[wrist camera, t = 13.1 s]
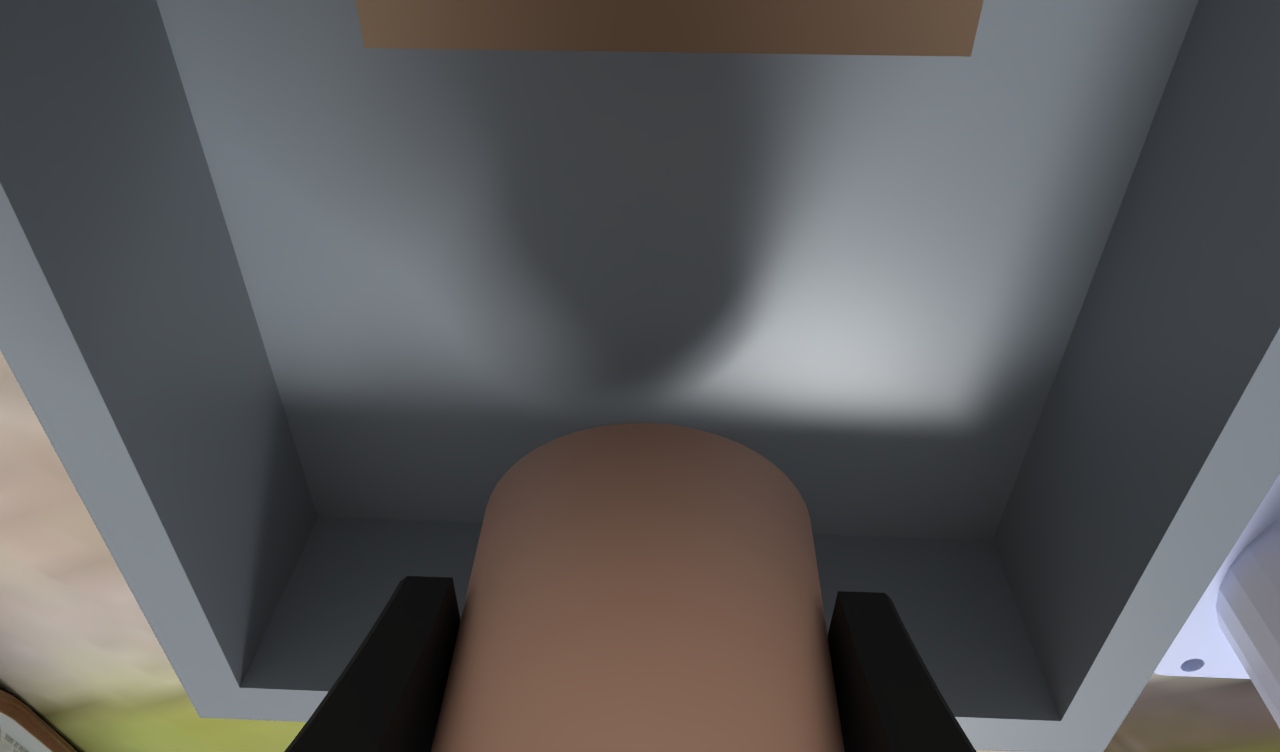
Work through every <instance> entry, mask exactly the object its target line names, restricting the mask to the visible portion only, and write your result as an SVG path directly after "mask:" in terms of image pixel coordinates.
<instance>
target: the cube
mask: <svg viewBox="0 0 1280 752" xmlns="http://www.w3.org/2000/svg"><path fill="white" fill-rule="evenodd" d="M983 1H984V0H356V6H357V11H358V16H359V22H360V27H361V33H362V38H363V43H364V48H395V49H466V50H536V51H607V52H677V53H748V54H818V55H889V56H960V57H971V54H972V49H973V45H974V40H975V36H976V32H977V27H978V23H979V19H980V14H981V10H982V6H983Z"/></svg>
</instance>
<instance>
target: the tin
mask: <svg viewBox="0 0 1280 752" xmlns="http://www.w3.org/2000/svg"><path fill="white" fill-rule="evenodd" d="M0 752H77V751H76V750H75V749H74V748H73V747H72V746H71V745H70V744H68V743H67V742H66V741H65V740H64V739H63V738H62V737H61V736H60V735H59V734H58V733H56V732H55V731H54V730H53V729H52V728H51V727H50V726H49V725H48V724H47V723H46V722H44V721H43V720H42V719H41V718H40V717H39V716H38V715H37V714H36V713H35V712H33V711H32V710H31V709H30V708H29V707H28V706H27V705H25V704H24V703H23V702H21V701H20V700H19V699H17V698H16V697H14V696H12V695H11V694H9V693H7V692H5V691H3V690H1V689H0Z"/></svg>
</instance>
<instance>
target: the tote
mask: <svg viewBox="0 0 1280 752" xmlns="http://www.w3.org/2000/svg"><path fill="white" fill-rule="evenodd" d="M0 350H1V352H2V353H3V355H4V357H5V359H6V361H7V363H8V365H9V366H10V368H11V370H12V372H13V374H14V376H15V377H16V379H17V381H18V383H19V385H20V387H21V389H22V390H23V392H24V394H25V396H26V398H27V400H28V401H29V403H30V405H31V407H32V409H33V411H34V413H35V414H36V416H37V418H38V420H39V422H40V424H41V425H42V427H43V429H44V431H45V433H46V435H47V436H48V438H49V440H50V442H51V444H52V446H53V448H54V449H55V451H56V453H57V455H58V457H59V459H60V460H61V462H62V464H63V466H64V468H65V470H66V472H67V473H68V475H69V477H70V479H71V481H72V483H73V484H74V486H75V488H76V490H77V492H78V494H79V496H80V497H81V499H82V501H83V503H84V505H85V507H86V508H87V510H88V512H89V514H90V516H91V518H92V520H93V521H94V523H95V525H96V527H97V529H98V531H99V532H100V534H101V536H102V538H103V540H104V542H105V543H106V545H107V547H108V549H109V551H110V553H111V555H112V556H113V558H114V560H115V562H116V564H117V566H118V567H119V569H120V571H121V573H122V575H123V577H124V579H125V580H126V582H127V584H128V586H129V588H130V590H131V591H132V593H133V595H134V597H135V599H136V601H137V603H138V604H139V606H140V608H141V610H142V612H143V614H144V615H145V617H146V619H147V621H148V623H149V625H150V627H151V628H152V630H153V632H154V634H155V636H156V638H157V639H158V641H159V643H160V645H161V647H162V649H163V651H164V652H165V654H166V656H167V658H168V660H169V662H170V663H171V665H172V667H173V669H174V671H175V673H176V674H177V676H178V678H179V680H180V682H181V684H182V686H183V687H184V689H185V691H186V693H187V695H188V697H189V698H190V700H191V702H192V704H193V706H194V708H195V710H196V711H197V713H198V715H199V717H201V718H225V719H249V720H273V721H297V722H307V721H308V720H309V718H310V717H311V716H312V714H313V713H314V711H315V710H316V709H317V707H318V706H319V704H320V703H321V702H322V700H323V699H324V697H325V696H326V695H327V693H328V692H329V690H330V689H331V688H332V686H333V685H334V683H335V682H336V681H337V679H338V678H339V676H340V675H341V673H342V672H343V671H344V669H345V668H346V666H347V665H348V663H349V662H350V660H351V659H352V657H353V656H354V654H355V653H356V651H357V650H358V648H359V647H360V645H361V644H362V642H363V641H364V639H365V638H366V636H367V634H368V633H369V631H370V630H371V628H372V627H373V625H374V623H375V622H376V620H377V619H378V617H379V616H380V614H381V612H382V611H383V609H384V607H385V606H386V604H387V603H388V601H389V599H390V598H391V596H392V594H393V593H394V591H395V589H396V587H397V586H398V584H399V582H400V581H401V580H403V579H404V578H405V577H407V576H424V577H453V582H454V587H455V593H456V598H457V603H458V609H459V614H460V619H461V616H462V612H463V607H464V603H465V599H466V594H467V590H468V585H469V581H470V577H471V572H472V568H473V563H474V559H475V555H476V550H477V546H478V541H479V537H480V533H481V528H482V524H483V519H484V515H485V510H486V507H487V504H488V501H489V498H490V495H491V494H492V492H493V490H494V488H495V487H496V485H497V483H498V482H499V480H500V479H501V478H502V477H503V476H504V474H505V473H506V472H507V471H508V470H509V469H510V468H511V467H512V466H513V465H514V464H515V463H517V462H518V461H519V460H520V459H521V458H523V457H524V456H526V455H527V454H529V453H530V452H532V451H533V450H535V449H536V448H538V447H540V446H542V445H544V444H546V443H548V442H550V441H553V440H555V439H557V438H560V437H563V436H566V435H569V434H571V433H574V432H577V431H582V430H586V429H591V428H595V427H599V426H607V425H616V424H626V423H655V424H669V425H676V426H682V427H688V428H694V429H698V430H702V431H706V432H709V433H713V434H717V435H720V436H722V437H725V438H727V439H730V440H732V441H735V442H738V443H740V444H742V445H744V446H745V447H747V448H749V449H751V450H753V451H755V452H757V453H758V454H760V455H761V456H763V457H764V458H766V459H767V460H769V461H770V462H772V463H773V464H774V465H775V466H776V467H777V468H779V469H780V470H781V471H782V472H783V473H784V474H785V475H786V476H787V477H788V478H789V479H790V481H791V482H792V483H793V484H794V485H795V487H796V488H797V489H798V491H799V493H800V494H801V496H802V498H803V500H804V502H805V503H806V506H807V510H808V513H809V516H810V520H811V527H812V533H813V540H814V547H815V554H816V560H817V567H818V574H819V581H820V588H821V594H822V601H823V608H824V615H825V621H826V628H827V635H828V632H829V627H830V623H831V619H832V614H833V610H834V606H835V602H836V597H837V593H838V591H848V592H877V593H885V594H887V595H888V596H889V597H890V598H891V599H892V601H893V604H894V606H895V608H896V610H897V612H898V614H899V616H900V618H901V620H902V622H903V624H904V626H905V628H906V630H907V632H908V634H909V636H910V638H911V640H912V641H913V643H914V645H915V647H916V649H917V651H918V653H919V655H920V656H921V658H922V660H923V662H924V664H925V666H926V667H927V669H928V671H929V673H930V675H931V676H932V678H933V680H934V682H935V683H936V685H937V687H938V689H939V691H940V692H941V694H942V696H943V698H944V699H945V701H946V703H947V704H948V706H949V708H950V709H951V711H952V713H953V715H954V716H955V718H956V720H957V721H958V723H959V724H960V726H961V728H962V729H963V731H964V732H965V734H966V736H967V737H968V739H969V741H970V742H971V744H972V745H973V747H974V749H975V750H992V751H1016V752H1103V751H1104V750H1105V748H1106V747H1107V745H1108V744H1109V742H1110V740H1111V739H1112V737H1113V736H1114V734H1115V733H1116V731H1117V729H1118V728H1119V726H1120V725H1121V723H1122V722H1123V720H1124V718H1125V717H1126V715H1127V714H1128V712H1129V710H1130V709H1131V707H1132V706H1133V704H1134V703H1135V701H1136V699H1137V698H1138V696H1139V695H1140V693H1141V692H1142V690H1143V688H1144V687H1145V685H1146V684H1147V682H1148V681H1149V679H1150V677H1151V676H1152V674H1153V673H1154V671H1155V670H1156V668H1157V666H1158V665H1159V663H1160V662H1161V660H1162V659H1163V657H1164V655H1165V654H1166V652H1167V651H1168V649H1169V647H1170V646H1171V644H1172V643H1173V641H1174V640H1175V638H1176V636H1177V635H1178V633H1179V632H1180V630H1181V629H1182V627H1183V625H1184V624H1185V622H1186V621H1187V619H1188V618H1189V616H1190V614H1191V613H1192V611H1193V610H1194V608H1195V607H1196V605H1197V603H1198V602H1199V600H1200V599H1201V597H1202V595H1203V594H1204V592H1205V591H1206V589H1207V588H1208V586H1209V584H1210V583H1211V581H1212V580H1213V578H1214V577H1215V575H1216V573H1217V572H1218V570H1219V569H1220V567H1221V566H1222V564H1223V562H1224V561H1225V559H1226V558H1227V556H1228V555H1229V553H1230V551H1231V550H1232V548H1233V547H1234V545H1235V543H1236V542H1237V540H1238V539H1239V537H1240V536H1241V534H1242V532H1243V531H1244V529H1245V528H1246V526H1247V525H1248V523H1249V521H1250V520H1251V518H1252V517H1253V515H1254V514H1255V512H1256V510H1257V509H1258V507H1259V506H1260V504H1261V503H1262V501H1263V499H1264V498H1265V496H1266V495H1267V493H1268V491H1269V490H1270V488H1271V487H1272V485H1273V484H1274V482H1275V480H1276V479H1277V477H1278V476H1279V474H1280V0H984V1H983V6H982V10H981V14H980V19H979V23H978V27H977V32H976V36H975V40H974V45H973V49H972V54H971V57H960V56H889V55H818V54H748V53H677V52H607V51H536V50H466V49H395V48H364V43H363V38H362V33H361V27H360V22H359V16H358V11H357V6H356V0H0Z"/></svg>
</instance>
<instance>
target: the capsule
mask: <svg viewBox="0 0 1280 752" xmlns="http://www.w3.org/2000/svg"><path fill="white" fill-rule="evenodd" d="M431 752H845V750H844V743H843V736H842V730H841V723H840V716H839V709H838V702H837V696H836V689H835V682H834V675H833V669H832V662H831V655H830V648H829V642H828V635H827V628H826V621H825V615H824V608H823V601H822V594H821V588H820V581H819V574H818V567H817V560H816V554H815V547H814V540H813V533H812V527H811V520H810V516H809V513H808V510H807V506H806V503H805V502H804V500H803V498H802V496H801V494H800V493H799V491H798V489H797V488H796V487H795V485H794V484H793V483H792V482H791V481H790V479H789V478H788V477H787V476H786V475H785V474H784V473H783V472H782V471H781V470H780V469H779V468H777V467H776V466H775V465H774V464H773V463H772V462H770V461H769V460H767V459H766V458H764V457H763V456H761V455H760V454H758V453H757V452H755V451H753V450H751V449H749V448H747V447H745V446H744V445H742V444H740V443H738V442H735V441H732V440H730V439H727V438H725V437H722V436H720V435H717V434H713V433H709V432H706V431H702V430H698V429H694V428H688V427H682V426H676V425H669V424H655V423H626V424H616V425H607V426H599V427H595V428H591V429H586V430H582V431H577V432H574V433H571V434H569V435H566V436H563V437H560V438H557V439H555V440H553V441H550V442H548V443H546V444H544V445H542V446H540V447H538V448H536V449H535V450H533V451H532V452H530V453H529V454H527V455H526V456H524V457H523V458H521V459H520V460H519V461H518V462H517V463H515V464H514V465H513V466H512V467H511V468H510V469H509V470H508V471H507V472H506V473H505V474H504V476H503V477H502V478H501V479H500V480H499V482H498V483H497V485H496V487H495V488H494V490H493V492H492V494H491V495H490V498H489V501H488V504H487V507H486V510H485V515H484V519H483V524H482V528H481V533H480V537H479V541H478V546H477V550H476V555H475V559H474V563H473V568H472V572H471V577H470V581H469V585H468V590H467V594H466V599H465V603H464V607H463V612H462V616H461V621H460V625H459V629H458V634H457V638H456V643H455V647H454V651H453V656H452V660H451V665H450V669H449V674H448V678H447V682H446V687H445V691H444V696H443V700H442V704H441V709H440V713H439V718H438V722H437V726H436V731H435V735H434V740H433V744H432V748H431Z"/></svg>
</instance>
